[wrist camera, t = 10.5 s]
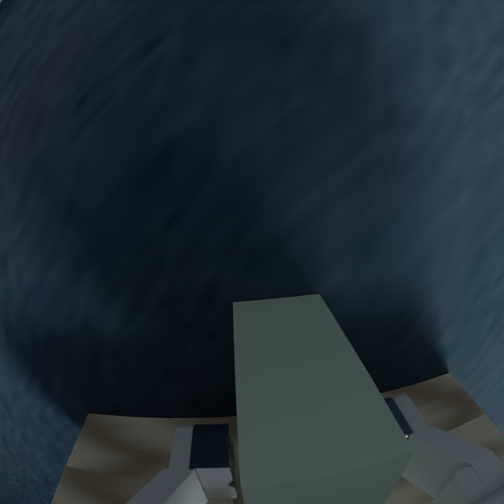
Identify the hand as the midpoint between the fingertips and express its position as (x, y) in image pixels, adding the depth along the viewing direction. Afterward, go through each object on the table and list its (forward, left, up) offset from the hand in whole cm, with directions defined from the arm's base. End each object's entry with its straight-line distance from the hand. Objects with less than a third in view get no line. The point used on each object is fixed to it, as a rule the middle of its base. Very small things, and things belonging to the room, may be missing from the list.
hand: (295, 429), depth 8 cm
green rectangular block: (+4, 0, -4) cm, 6 cm away
